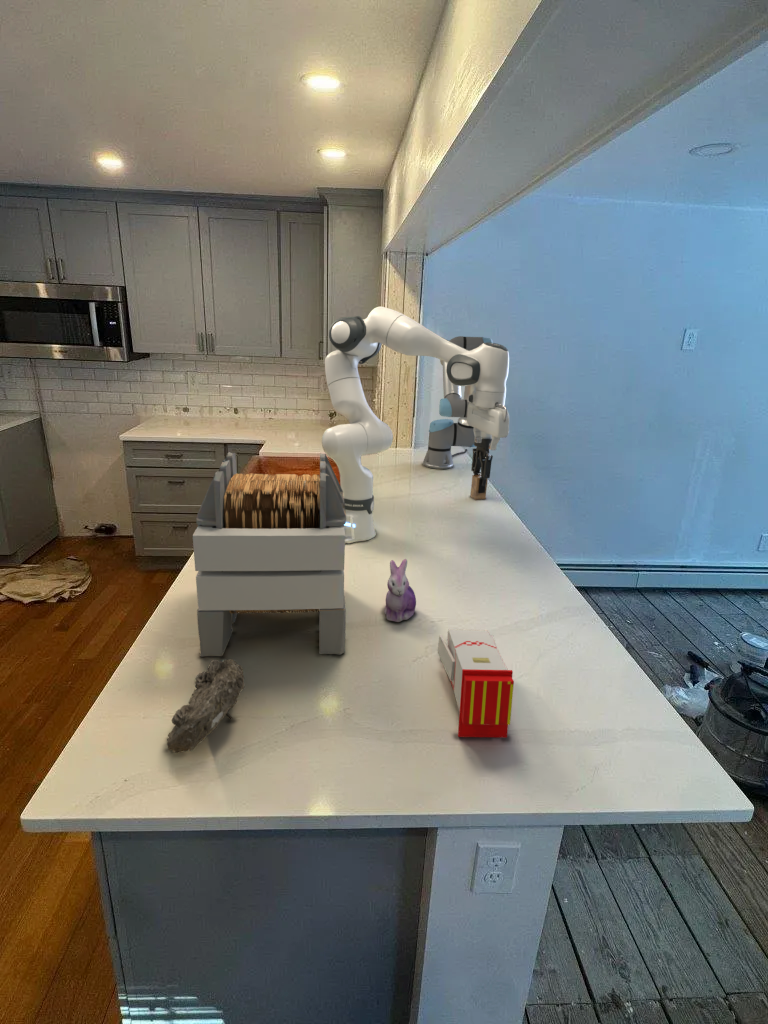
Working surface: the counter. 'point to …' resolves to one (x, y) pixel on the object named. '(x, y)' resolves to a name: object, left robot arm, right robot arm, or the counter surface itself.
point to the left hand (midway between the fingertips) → (484, 446)
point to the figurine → (399, 594)
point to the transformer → (270, 552)
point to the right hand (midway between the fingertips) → (478, 490)
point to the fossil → (206, 705)
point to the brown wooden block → (477, 488)
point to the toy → (478, 682)
